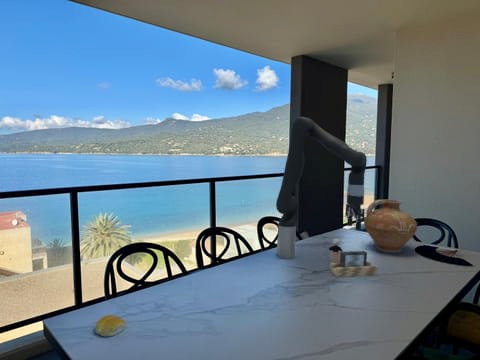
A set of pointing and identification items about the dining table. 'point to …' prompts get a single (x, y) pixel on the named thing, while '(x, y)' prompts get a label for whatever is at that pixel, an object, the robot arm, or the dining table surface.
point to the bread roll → (109, 325)
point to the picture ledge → (353, 270)
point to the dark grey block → (353, 259)
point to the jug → (389, 225)
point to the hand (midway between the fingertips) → (353, 227)
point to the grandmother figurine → (335, 251)
